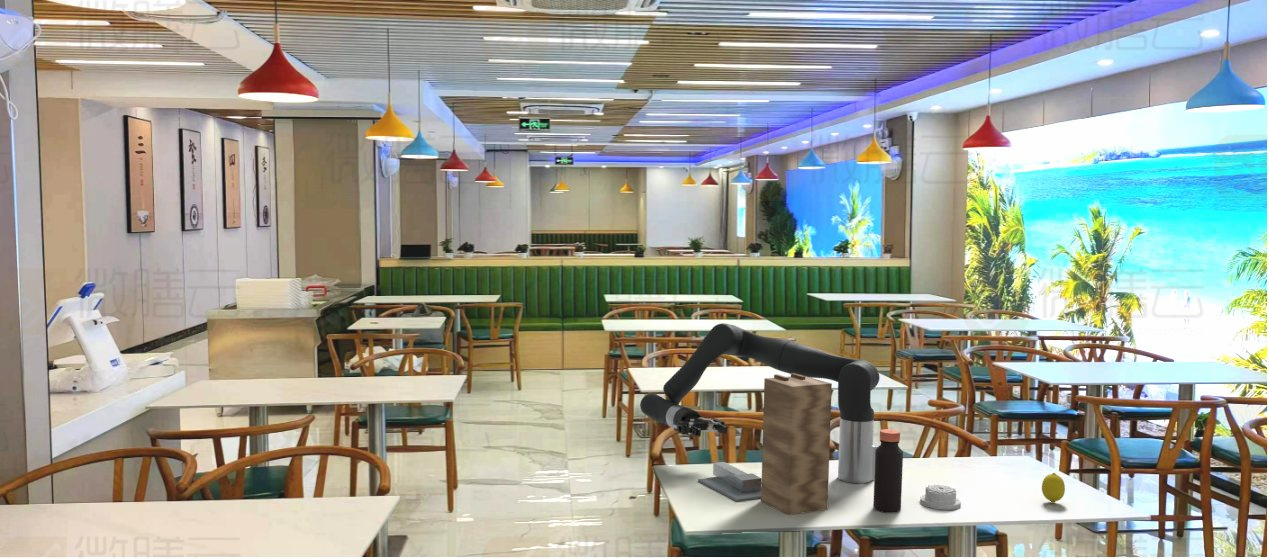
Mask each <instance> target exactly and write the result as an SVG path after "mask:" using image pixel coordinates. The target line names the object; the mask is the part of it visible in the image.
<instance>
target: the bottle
mask: <svg viewBox="0 0 1269 559" xmlns="http://www.w3.org/2000/svg"><path fill="white" fill-rule="evenodd" d="M900 439H901V431H899V430H896V429H890V428H885V429H884V428H883V429H880V430H879V442H880V445H878V447H877V448H876V451H875V475H874V480H873V481H874V483H873V501H872V502H873V504H872V505H873V506H872V507H873V509H874V510H875V511H878V512H880V513H886V514H887V513H889V514H894V513H898V512H900V511H901V510H902V492H903V490H902V488H903V486H902V485H903V465H904V463H903V462H904V451H903V450H902V448H901V447H900V446H899V443H900V441H901V440H900Z"/></svg>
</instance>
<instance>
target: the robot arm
mask: <svg viewBox="0 0 1269 559" xmlns="http://www.w3.org/2000/svg"><path fill="white" fill-rule="evenodd" d="M723 355H726V356H738V357H741V358H742V357H743V358H747V359H751V360H756V361H758V362H760V363H762V364H764V365H766V366H768V368H769V367H770V368H772V369H774V370H777V371H779V372H783V373H785V374H788V375H791V373H795V374H799V375H802V376H806V377H810V378H814V379H826V380H829V381H834V382H836V383H837V404H838V405H837V406H838V410H839V438H838V439H839V442H838V443H839V444H838V465H837V466H838V467H837V469H838V471H837V478H838V479H839V480H840V481H843V482H846V483H853V484H865V483H866V484H867V483H870V482H872V481H874V475H875V451H876V449H877V448H876V446H875V445H874V427H875V426H874V425H875V424H874V422H875V421H874V420H875V417H874V416H875V410H874V409H873V408H872V404H871V391H873V390H874V389H875V388H876V387H877V385H879V382H880V373H879V370H878V369H877V367H876V366H875V365H874V364H873V363H871V362H870V361H867V360H864V359H858V358H851V357H845V356H839V355H835V354H832V353H829V352H827V351H824V350H820V349H818V348H815V347H811V346H808V345H805V344H803V343H799V342H796V341H795V342H794V341H792V340H791V341H790V340H787V339H783V338H777V337H771V336H770V337H768V336H763V335H759V334H756V333H753V332H751V331H749V330H746V329H743V328H741V327H739V326H737V325H734V324H729V323H719V324H716V325H714V326H713V327H712V328H711V329H710V330H709V332H708V333H706V336H705V337H704V339H703V340H702V342H701V343H700V344H699V346H698V347H697V349H695V351H694V352H693V354H692V355H691V356H690V357H689V358H688V360H687V361H685V363H684V364H683V365H682V366H681V367H680V368H679V369H678V370H677V371H676V372H675V373H674V374H673V375H672V376H671V377H670V378H669V379H668V380H667V381H666V382H665V383H664V385H663V386H662V387H663V388H662V390H663V393H664V394H665V395H666V397H667V399H666V398H664V397H662V396H660V395H658V394H656V393H652V392H651V393H650V392H649V393H648V394H646V395H644V396H643V397H642V398H641V401H640V404H639V407H640V411H641V412H642V414H644V415H645V416H647V417H649V418H650V419H652V420H653V421H655V422H657V423H658V424H664V425H666V426H668V427H670V428H672V429H673V431H675V432H677V433H679V434H681V435H686V436H695V437H697V438H700V437H701V436H702V433H703V432H707V433H712V432H717V433H719V434H722V435H726V434H727V433H728V427H727V426H726V422H725V421H724V420H722V419H721V420H720V419H718V418H715V417H711V418H710V419H708V418H705V417H702V415H701V414H700V412H699V411H697V410H695V409H693V408H691V407H689V406H688V407H687V406H684V405H681V404H680V403H681V401H682V400H683V399H685V398H684V397H686V396H687V395H688V394H689V393H690V392H691V391H692V390H693V389H694V388H695V387H696V385H697V384H698V383H699V381H700V379H701V377H702V376H703V374H704V373H705V371H706V370H707V368H708V367H709V366H710V365H711V364H712V363H713V362H714V361H716V360H717V359H718V358H719V357H721V356H723Z"/></svg>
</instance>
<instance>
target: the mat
mask: <svg viewBox="0 0 1269 559" xmlns="http://www.w3.org/2000/svg"><path fill="white" fill-rule="evenodd" d="M697 481H698V482H699V483H701V484H703V485H704V486H706V487H708V488H710V489H712V490H713V491H716V492H717V491H718V493H719V492H720V494H721V493H722V495H723V496H725V497H727V498H729V499H731V500H733V501H735V502H736V503H737V502H738V503H740V502H745V501H746V500H747V501H752V500H753V499H754V500H760V499H759V498H761V491H756V492H747V493H741V492H739V491H737V490H735V489H734V488H733V485H731V484H729V483H727V482H725V481H723V480H722V479H720V478H718V477H716V476H713V477H706V478H705V477H704V478H698V479H697Z"/></svg>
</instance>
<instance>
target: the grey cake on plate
mask: <svg viewBox="0 0 1269 559" xmlns="http://www.w3.org/2000/svg"><path fill="white" fill-rule="evenodd" d="M919 500H920V501H919V502H920V504H922V506H924V507H926V508H927V507H928V508H930V509H935V510H946V511H947V510H948V511H950V510H951V511H952V510H957V509H960V508H961V505H962V504H961V503H962V502H961V500H960V499H959V498H957V489H956V488H954V487H951V486H950V485H949V486H948V485H942V484H932V485H930V484H929V485H928V486H925V494H923V495H921V496H920V499H919Z"/></svg>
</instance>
